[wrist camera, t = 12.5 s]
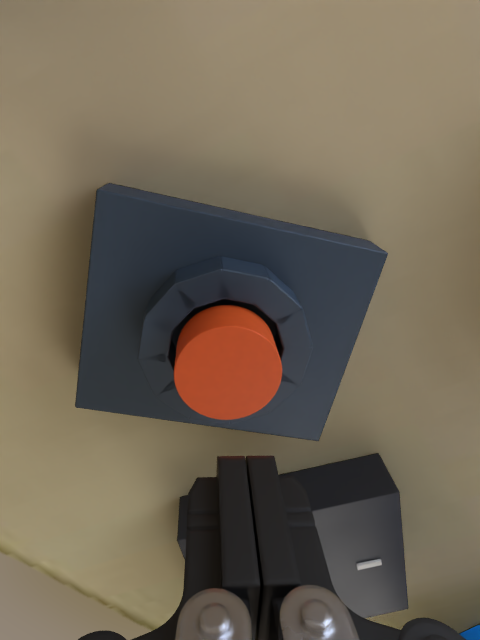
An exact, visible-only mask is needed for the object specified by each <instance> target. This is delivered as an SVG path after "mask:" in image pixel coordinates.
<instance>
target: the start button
mask: <svg viewBox="0 0 480 640" xmlns="http://www.w3.org/2000/svg"><path fill="white" fill-rule="evenodd" d="M281 378H282V363H281V359H280V356H279V353H278V350H277V347H276V344H275V341H274V338H273V335H272V333H271V330H270V328H269V327H268V325H267V324H266V322H265V321H264V320H263V319H262V318H261V317H260V316H258V315H257V314H256V313H254V312H252V311H251V310H249V309H246V308H244V307H240V306H235V305H219V306H214V307H210V308H207V309H205V310H203V311H201V312H199V313H197V314H196V315H195V316H193V317H192V318H191V319H190V320H189V321H188V322H187V323H186V324H185V326H184V327H183V329H182V330H181V333H180V335H179V338H178V341H177V349H176V357H175V366H174V382H175V386H176V389H177V391H178V393H179V395H180V397H181V398H182V399H183V401H184V402H185V403H186V404H187V405H188V406H189V407H190V408H191V409H193V410H194V411H196V412H198V413H199V414H202V415H204V416H206V417H210V418H214V419H221V420H232V419H239V418H243V417H246V416H249V415H251V414H253V413H255V412H257V411H259V410H260V409H262V408H263V407H264V406H265V405H267V404H268V403H269V402H270V401H271V399H272V398H273V397H274V395H275V394H276V392H277V390H278V388H279V385H280V383H281Z"/></svg>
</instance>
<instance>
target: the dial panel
mask: <svg viewBox="0 0 480 640" xmlns="http://www.w3.org/2000/svg"><path fill="white" fill-rule="evenodd" d="M278 476H295V478H296V479H297V480H298V481H299V482H300V484H301V485H302V486H303V487H304V489H305V490H306V492H307V495H308V499H309V503H310V506H311V512H312V513H313V517H314V520H315V527H316V528H317V531H318V535H319V538H320V542H321V545H322V549H323V553H324V556H325V560H326V563H327V567H328V570H329V574H330V578H331V581H332V584H333V587H334V589H335V591H336V593H337V595H338V596H339V598H340V599H341V600H342V602H343V603H344V604H345V605H346V606H347V607H348V608H349V609H350V610H352V611H353V612H354V613H356V614H357V615H359V616H361V617H363V618H368V617H372V616H377V615H381V614H386V613H391V612H395V611H400V610H405V609H408V599H407V586H406V573H405V560H404V547H403V534H402V521H401V508H400V495H399V490H398V488H397V487H396V485H395V483H394V481H393V479H392V477H391V475H390V474H389V472H388V470H387V468H386V466H385V464H384V463H383V461H382V459H381V457H380V455H379V454H378V453H377V454H373V455H368V456H364V457H359V458H355V459H350V460H345V461H341V462H336V463H332V464H327V465H323V466H318V467H314V468H309V469H305V470H300V471H296V472H291V473H287V474H282V475H278ZM187 513H188V495H187V496H183V497H180V503H179V520H178V536H177V541H178V544H179V546H180V549H181V551H182V554H183V557H184V559H185V554H186V533H187Z"/></svg>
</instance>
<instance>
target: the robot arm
mask: <svg viewBox="0 0 480 640" xmlns="http://www.w3.org/2000/svg"><path fill="white" fill-rule="evenodd" d="M78 640H126V639H125V638H124V637H123V636H121V635H120V634H118V633H115V632H112V631H96V632H93V633H90V634H87V635H85V636H83V637H81V638H80V639H78ZM132 640H466V639H465V638H463V637H462V636H461V635H460V634H458V633H457V632H456V631H455V630H453V629H452V628H450V627H449V626H447V625H446V624H444V623H442V622H439V621H437V620H434V619H430V618H416V619H413V620H411V621H409V622H407V623H406V624H405V625H404V626H403V628H402V630H399V629H395V628H392V627H389V626H386V625H382V624H379V623H376V622H372V621H370V620H367V619H364V618H363V617H361V616H359V615H357V614H356V613H354V612H353V611H352V610H350V609H349V608H348V607H347V606H346V605H345V604H344V603H343V602H342V600H341V599H340V598H339V596H338V595H337V593H336V591H335V589H334V587H333V584H332V581H331V578H330V574H329V570H328V567H327V563H326V560H325V556H324V553H323V549H322V545H321V542H320V538H319V535H318V531H317V528H316V527H315V520H314V517H313V513H312V512H311V506H310V503H309V499H308V495H307V492H306V490H305V489H304V487H303V486H302V485H301V484H300V482H299V481H298V480H297V479H296V478H295V476H278V472H277V467H276V462H275V458H274V456H246V460H245V457H244V456H218V457H217V476H216V477H202V478H197V479H196V481H195V483H194V484H193V486H192V488H191V490H190V491H189V493H188V513H187V533H186V554H185V574H184V591H183V596H182V600H181V602H180V605H179V607H178V609H177V610H176V612H175V613H174V614H173V616H172V617H171V618H170V619H169V620H168V621H167V622H166V623H165V624H163V625H162V626H160V627H159V628H157V629H155V630H153V631H151V632H149V633H147V634H144V635H142V636H139V637H137V638H134V639H132Z"/></svg>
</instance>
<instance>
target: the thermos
mask: <svg viewBox="0 0 480 640" xmlns="http://www.w3.org/2000/svg"><path fill="white" fill-rule="evenodd" d="M460 635H461V636H462V637H463V638H465V639H466V640H480V625H477V626H475V627H473V628H471V629H469V630H467V631H465V632H462V633H460Z"/></svg>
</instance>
